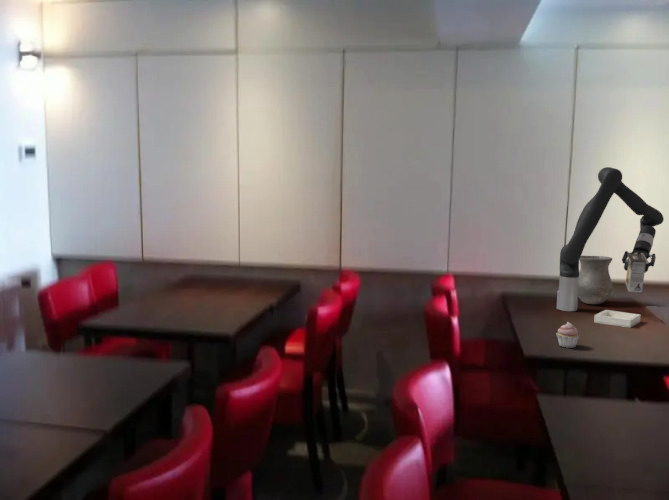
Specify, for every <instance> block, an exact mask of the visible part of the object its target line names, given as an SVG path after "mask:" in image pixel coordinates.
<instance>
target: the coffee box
mask: <svg viewBox="0 0 669 500" xmlns="http://www.w3.org/2000/svg"><path fill="white" fill-rule="evenodd" d="M627 259H628V266H627V271H626V276H625V286H626V288H627V291H628V292H629V293H643V288H644V280H645V265H646V260H645V258H644V256H643V254H629V257H627Z"/></svg>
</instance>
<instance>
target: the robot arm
mask: <svg viewBox="0 0 669 500" xmlns="http://www.w3.org/2000/svg"><path fill="white" fill-rule="evenodd" d="M597 179H598V181H599V183H600V186H599V188H598V190H597V192H596V194H594V195H593V197H592V198H590V200H589V201H588V202H587V203H586V204H585V205H584V207H583V209H582V210H581V212H580V214H579V217H578V218H577V221H576V225H575V226H574V227H575V228H574V231H573V234H572V236H571V238H570V240H569V241H568V242H567V244H566V245H564V246H562V248H561V249H560V254H559V284H558V290H557V293H556V297H557V298H556V310H560V311H563V312H576V311H578V301H579V300H578V299H579V297H578V285H579V272H580V269H579V268H580V260H579V259H580V257H581V256H582V254H583V251H584V249H585V247H586V244H587V242H588V240H589V238H590V237H591V236H592V234H593V232H594V231H595V228H596V227H597V226H598V224H599V222H600V220H601V218H602V216H603V214H604V213H605V210H606V209H607V206H608V204H609V203H610V200H611V199H612V197H613V195H614V194H615V195H616V196H618V198H620V200H621V201H623V203H624V204H625V205H626V206H627V208H628V207H629V209H630V210H631V211H632V212H633V213H634V214H635V215H636V216H641V218H640V220H639V229H640V230H639V232H638V235H637V238H636V240H635V244H634V246H633V249H632V251H631V252H629V251H627V250H625V251H624V254H623V256H622V258H621V261H622V264H623V269H624V271H626V272H627V266H628V258H629V254H643V256H644V258H645V260H646V265H645V273H647V272H648V271H649V268H650V267H655V262H656V254H655V253H651V251H652V247H653V245H654V240H655V236H656V231H657V230H656V229H655V226H659V225H661V224H663V222H664V216H663V214H662V212H661V211H659V210H658V209H656V207H653V206H651V205H649V204H647V202H646V201H645V200H644V199H643V198H642V197H641V196H640V195H638V194H637V193H636V192H635V191H633V190H632V189H631V188H630V187H628V186H627V185H625V183H624V182H623V181H622V180H623V173H622V171H621V170H620V169H618V168H613V167H610V166H607V167H603V168H601V169H600V170H599V171H598V173H597ZM650 253H651V254H650ZM649 258H650V262H649ZM645 273H644V274H645Z"/></svg>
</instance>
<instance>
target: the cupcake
mask: <svg viewBox="0 0 669 500" xmlns="http://www.w3.org/2000/svg"><path fill="white" fill-rule="evenodd" d="M555 335H556V338H557V340H558V345H559V347H561V346H562V347H563V348H565V347H566V348H567V349H573V348H576V346H577V344H578V340H579V337H580V336H581V334H579V331H578V328H576V327H575V326H574V325H573V324H572V323H571V322H569V321H567V322H566V324H562V325H561V326H560V327H559V328H558V329H557V332H556V333H555Z"/></svg>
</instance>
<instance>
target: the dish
mask: <svg viewBox="0 0 669 500" xmlns="http://www.w3.org/2000/svg"><path fill="white" fill-rule="evenodd" d="M593 316H594V319H593V320H594V321H593V322H594V323H595V324H602V325H606V326H607V325H609V326H615V327H621V328H629V329H631V328H632V327H635V325H637V324H639V323H641V314H638V313H631V312H625V311H617V310H610V309H605V310H602V311H600V312H598V313H596V314H594V315H593Z"/></svg>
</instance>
